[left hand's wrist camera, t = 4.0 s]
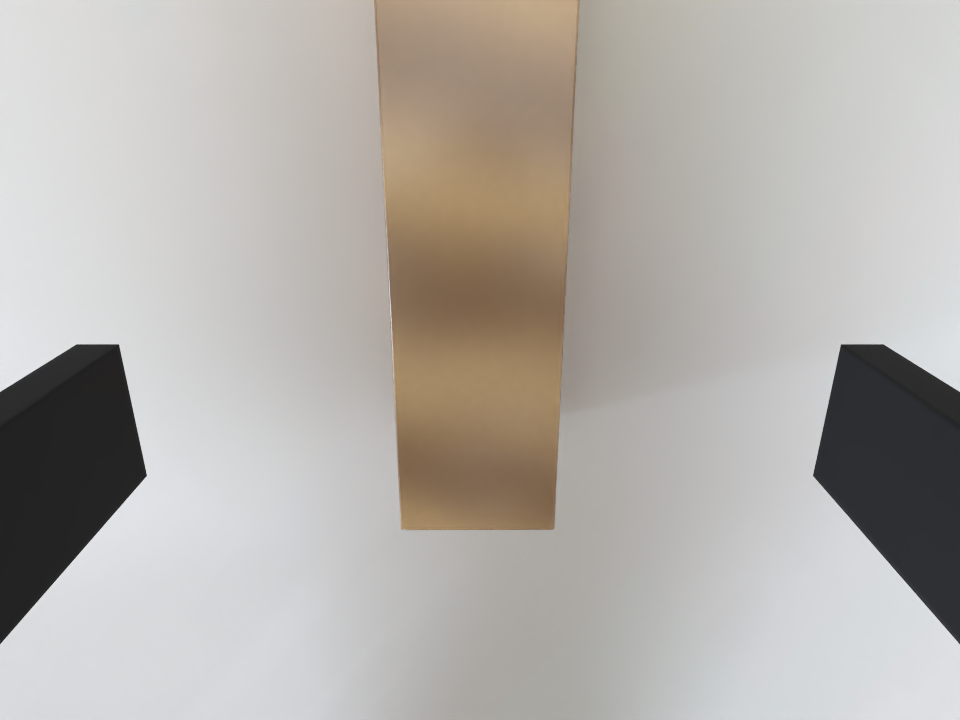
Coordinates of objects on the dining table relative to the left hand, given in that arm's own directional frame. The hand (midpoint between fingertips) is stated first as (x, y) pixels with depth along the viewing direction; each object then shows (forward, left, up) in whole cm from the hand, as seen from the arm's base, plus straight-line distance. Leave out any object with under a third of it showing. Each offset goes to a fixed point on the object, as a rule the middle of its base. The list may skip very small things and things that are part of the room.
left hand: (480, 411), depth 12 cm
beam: (+22, -10, -15) cm, 29 cm away
